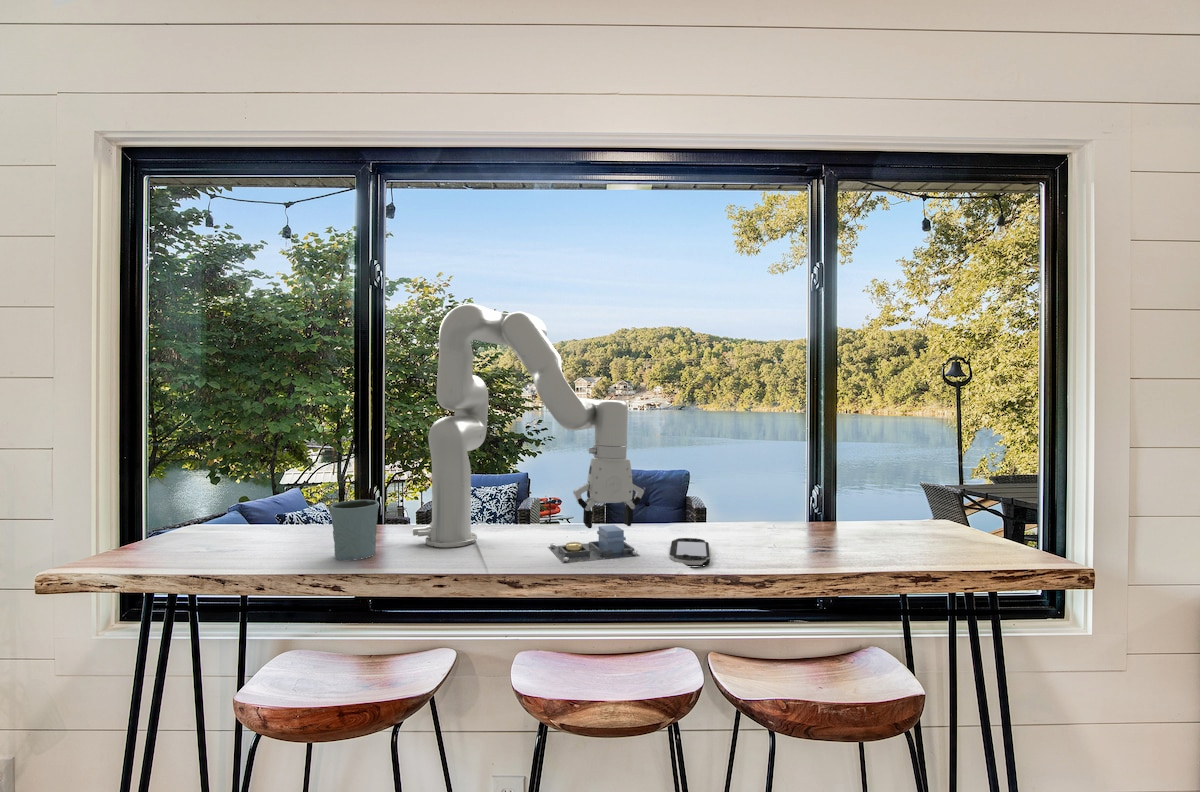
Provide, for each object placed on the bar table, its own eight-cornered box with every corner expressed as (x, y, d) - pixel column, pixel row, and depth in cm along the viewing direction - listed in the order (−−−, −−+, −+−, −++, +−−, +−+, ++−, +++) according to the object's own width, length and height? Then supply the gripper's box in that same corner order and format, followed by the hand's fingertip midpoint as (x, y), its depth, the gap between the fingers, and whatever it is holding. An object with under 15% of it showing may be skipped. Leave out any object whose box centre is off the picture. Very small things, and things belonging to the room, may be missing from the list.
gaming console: (672, 545, 141) (672, 535, 141) (708, 547, 140) (708, 536, 140) (668, 568, 122) (668, 556, 122) (710, 570, 121) (710, 558, 121)
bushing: (567, 555, 127) (567, 546, 127) (565, 551, 131) (565, 542, 131) (582, 554, 128) (582, 545, 128) (580, 550, 131) (580, 541, 131)
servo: (609, 555, 127) (609, 532, 127) (596, 545, 135) (596, 524, 135) (625, 553, 129) (625, 531, 129) (612, 544, 137) (612, 523, 137)
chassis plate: (562, 567, 121) (562, 558, 121) (547, 551, 134) (547, 542, 134) (640, 560, 127) (640, 551, 127) (618, 544, 140) (618, 536, 140)
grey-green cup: (386, 550, 134) (386, 500, 134) (364, 562, 124) (364, 508, 124) (345, 549, 135) (345, 499, 135) (320, 561, 125) (321, 507, 125)
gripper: (579, 454, 126) (577, 531, 126) (650, 454, 131) (648, 528, 131) (570, 451, 133) (568, 523, 133) (638, 451, 138) (636, 520, 139)
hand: (608, 525), depth 132 cm, fingers open, 9 cm apart
